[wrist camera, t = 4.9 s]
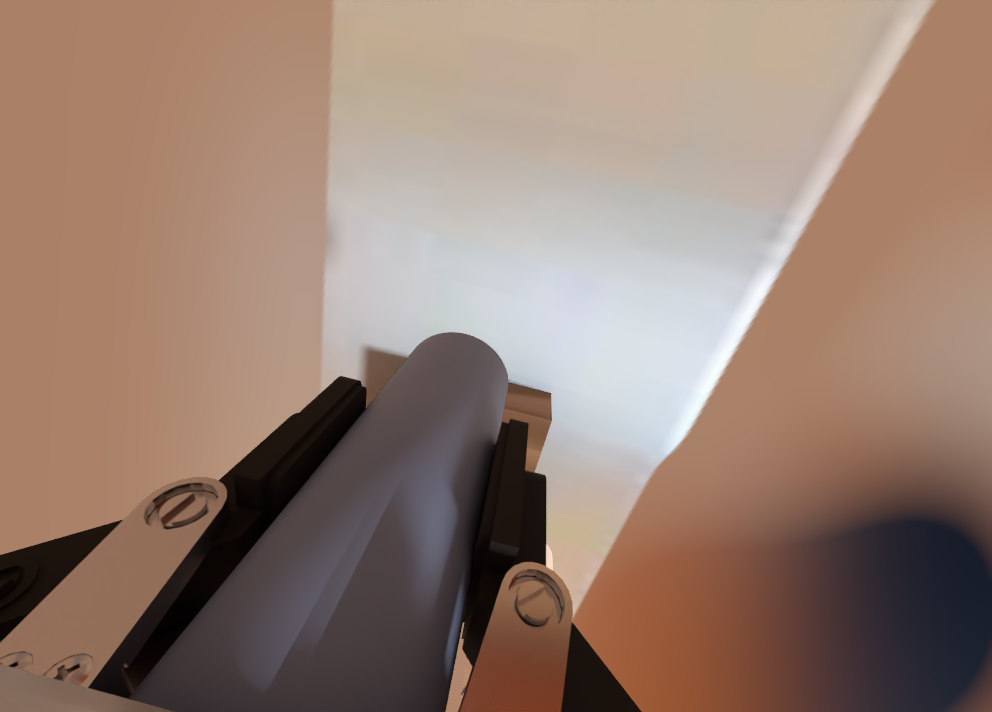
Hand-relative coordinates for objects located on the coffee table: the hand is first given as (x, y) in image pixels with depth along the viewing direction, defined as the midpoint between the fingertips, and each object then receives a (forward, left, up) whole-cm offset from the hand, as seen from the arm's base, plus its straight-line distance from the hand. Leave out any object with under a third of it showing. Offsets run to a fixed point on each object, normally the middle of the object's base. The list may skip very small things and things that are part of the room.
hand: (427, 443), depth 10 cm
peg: (0, 0, -4) cm, 4 cm away
